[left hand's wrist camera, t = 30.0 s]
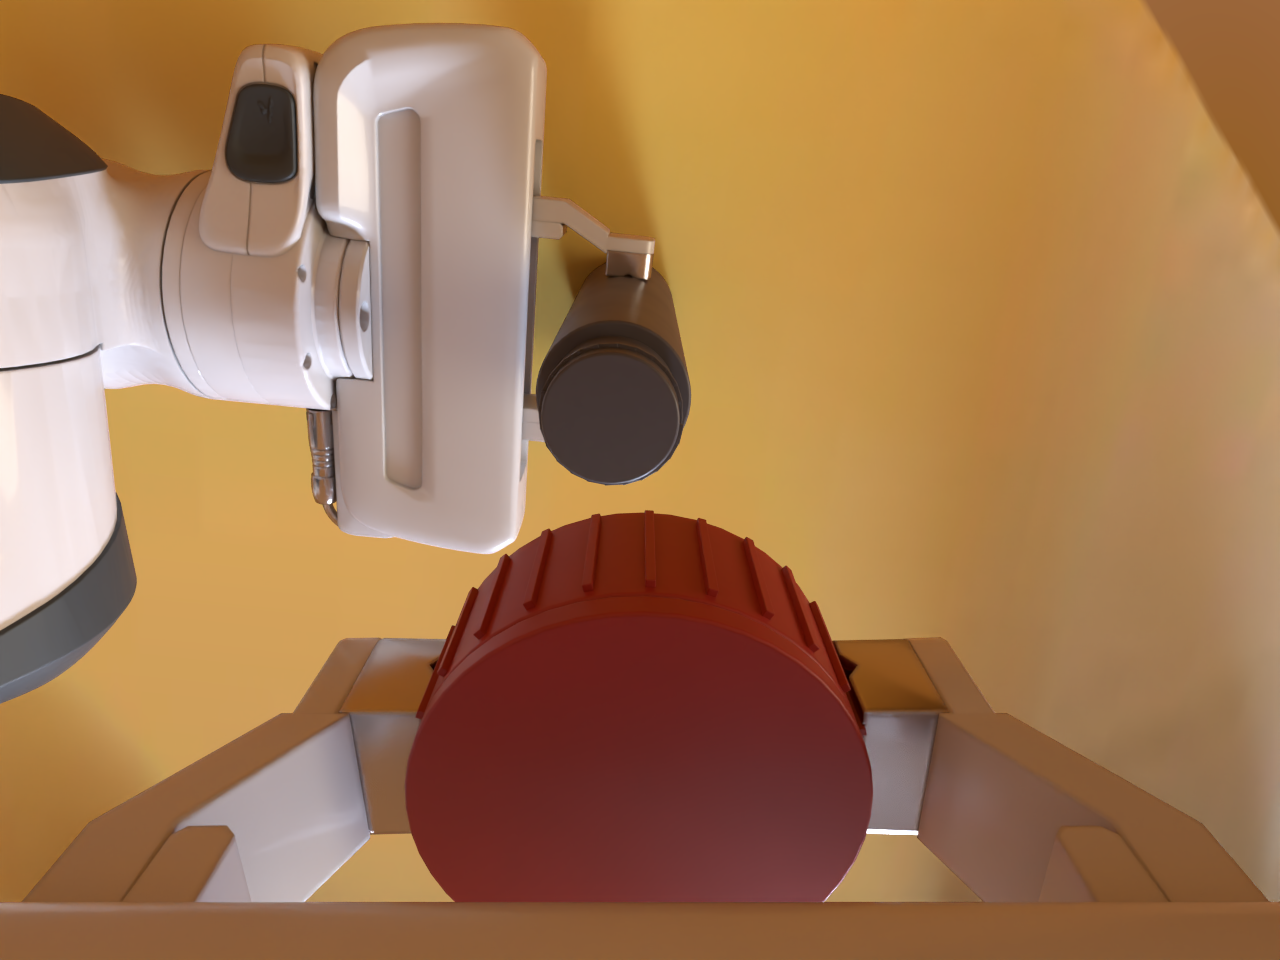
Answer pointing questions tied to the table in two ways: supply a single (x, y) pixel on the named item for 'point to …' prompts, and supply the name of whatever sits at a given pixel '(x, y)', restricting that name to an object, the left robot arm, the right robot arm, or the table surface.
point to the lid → (638, 727)
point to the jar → (615, 381)
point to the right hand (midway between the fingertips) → (645, 331)
